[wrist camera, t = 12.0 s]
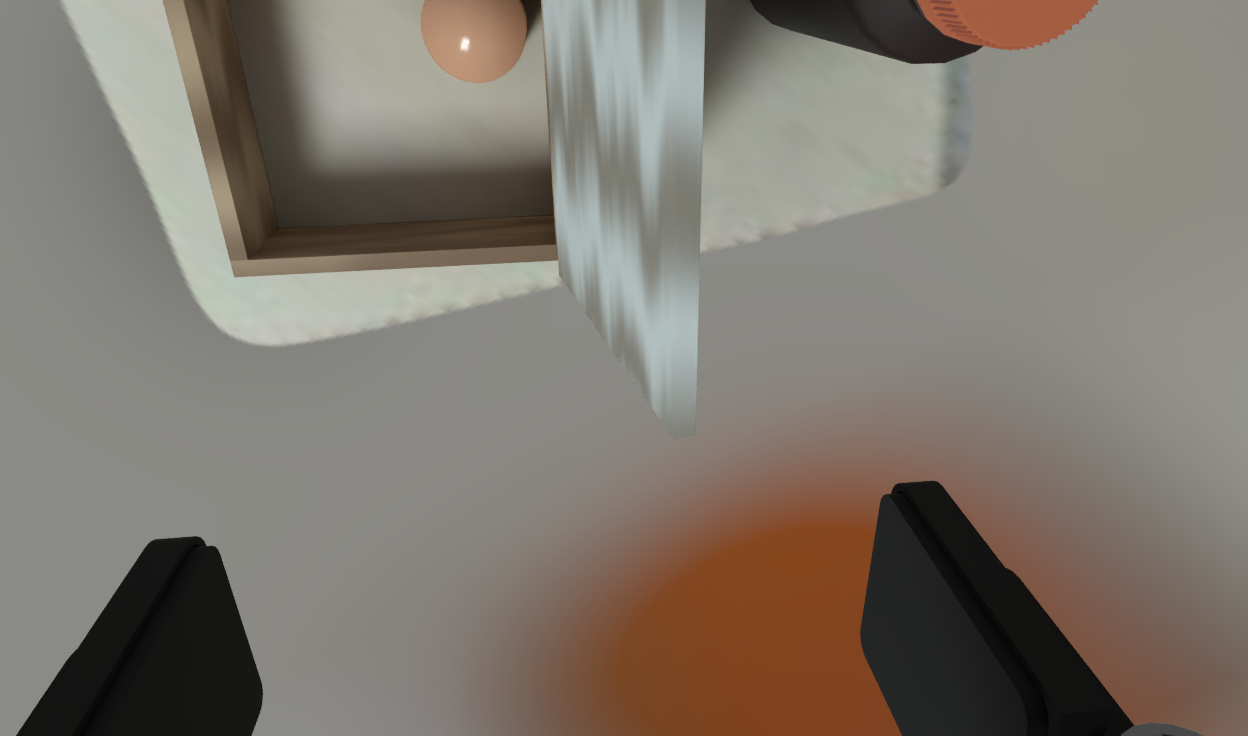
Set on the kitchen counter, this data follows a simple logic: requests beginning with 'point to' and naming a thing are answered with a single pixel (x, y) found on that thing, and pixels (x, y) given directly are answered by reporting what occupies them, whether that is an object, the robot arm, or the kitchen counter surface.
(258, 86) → the kitchen counter surface
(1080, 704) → the robot arm
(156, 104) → the kitchen counter surface
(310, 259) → the box
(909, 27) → the bottle
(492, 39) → the tan rounded ovoid
